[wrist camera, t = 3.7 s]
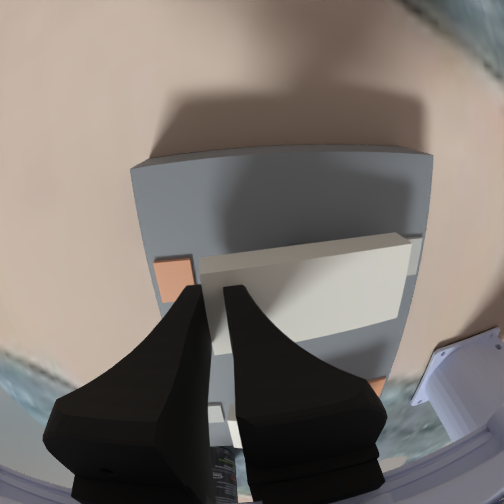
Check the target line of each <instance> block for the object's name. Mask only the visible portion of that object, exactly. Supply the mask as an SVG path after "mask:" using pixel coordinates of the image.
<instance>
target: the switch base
mask: <svg viewBox="0 0 504 504" xmlns="http://www.w3.org/2000/svg"><path fill="white" fill-rule="evenodd" d="M432 171H433V155H431V154H427V153H423V152H420V151H416V150H412V149H408V148H404V147H399V146H380V145H344V144H319V145H282V146H262V147H247V148H234V149H222V150H212V151H203V152H194V153H186V154H178V155H170V156H163V157H156V158H150V159H147V160H145V161H143V162H142V163H140V164H138V165H136V166H134V167H133V168H131V169H130V173H131V180H132V186H133V192H134V198H135V204H136V209H137V214H138V220H139V225H140V230H141V235H142V240H143V244H144V249H145V253H146V258H147V262H148V266H149V271H150V275H151V279H152V283H153V287H154V291H155V295H156V298H157V302H158V306H159V310H160V313H161V317H162V318H163V317H164V316H165V314H166V313H167V312H168V310H169V309H170V308H171V306H172V305H173V304H174V302H175V301H176V299H177V298H178V296H179V295H180V293H181V292H182V291H183V289H184V288H185V287H186V285H197V284H201V280H200V273H199V258H202V257H209V256H217V255H225V254H232V253H240V252H248V251H255V250H263V249H271V248H278V247H286V246H294V245H301V244H309V243H317V242H324V241H332V240H340V239H347V238H355V237H363V236H371V235H378V234H386V233H394V232H396V233H398V234H399V235H401V236H402V237H403V238H405V239H406V240H408V241H409V242H411V243H412V248H411V254H410V260H409V265H408V270H407V275H406V280H405V285H404V290H403V294H402V299H401V303H400V307H399V312H398V316H397V318H394V319H391V320H387V321H383V322H380V323H376V324H372V325H368V326H365V327H361V328H357V329H353V330H349V331H344V332H340V333H336V334H332V335H327V336H323V337H318V338H313V339H309V340H304V341H299V342H295V343H296V344H298V345H299V346H300V347H302V348H303V349H305V350H306V351H308V352H309V353H311V354H313V355H314V356H316V357H317V358H319V359H321V360H322V361H324V362H326V363H328V364H330V365H332V366H334V367H336V368H338V369H341V370H343V371H346V372H348V373H351V374H353V375H356V376H358V377H361V378H363V379H366V380H367V381H368V383H369V384H370V385H371V387H372V388H373V390H374V391H375V393H376V394H377V396H378V397H379V399H380V397H381V395H382V392H383V390H384V387H385V385H386V382H387V379H388V377H389V374H390V371H391V368H392V365H393V362H394V359H395V356H396V353H397V350H398V347H399V344H400V341H401V338H402V334H403V331H404V327H405V324H406V320H407V317H408V313H409V309H410V305H411V301H412V297H413V293H414V289H415V285H416V280H417V276H418V271H419V266H420V261H421V256H422V250H423V245H424V239H425V232H426V226H427V219H428V211H429V203H430V194H431V183H432ZM230 404H235V384H234V362H233V354H232V353H229V354H222V355H214V351H213V346H212V356H211V369H210V382H209V396H208V420H209V437H210V446H231V445H233V441H232V438H231V434H230V430H229V426H228V422H227V419H228V413H229V408H230Z"/></svg>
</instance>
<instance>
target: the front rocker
mask: <svg viewBox="0 0 504 504" xmlns="http://www.w3.org/2000/svg"><path fill="white" fill-rule="evenodd" d="M411 248H412V243H411V242H409V241H408V240H406V239H405V238H403V237H402V236H401V235H399V234H398V233H396V232H394V233H386V234H378V235H371V236H363V237H355V238H347V239H340V240H332V241H324V242H317V243H309V244H301V245H294V246H286V247H278V248H271V249H263V250H255V251H248V252H240V253H232V254H225V255H217V256H209V257H202V258H199V273H200V280H201V286H202V292H203V298H204V303H205V309H206V314H207V320H208V325H209V330H210V336H211V341H212V346H213V351H214V355H222V354H229V353H232V349H231V343H230V336H229V329H228V322H227V315H226V308H225V301H224V294H223V287H226V286H234V285H244V286H245V287H246V289H247V291H248V292H249V294H250V295H251V297H252V298H253V300H254V301H255V303H256V304H257V305H258V306H259V308H260V309H261V310H262V311H263V313H264V314H265V315H266V316H267V317H268V318H269V319H270V320H271V321H272V322H273V323H274V325H275V326H276V327H278V328H279V329H280V330H281V331H282V332H283V333H284V334H285V335H286V336H288V337H289V338H290V339H291V340H292V341H294V342H299V341H304V340H309V339H313V338H318V337H323V336H327V335H332V334H336V333H340V332H344V331H349V330H353V329H357V328H361V327H365V326H368V325H372V324H376V323H380V322H383V321H387V320H391V319H394V318H397V316H398V312H399V307H400V303H401V299H402V294H403V290H404V285H405V280H406V275H407V270H408V265H409V260H410V254H411Z"/></svg>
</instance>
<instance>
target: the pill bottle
mask: <svg viewBox="0 0 504 504" xmlns="http://www.w3.org/2000/svg"><path fill="white" fill-rule="evenodd" d="M210 450H211V461H212V471H213V481H214V489H215V496H216V504H232V503H238V496H237V481H236V465H235V458H234V455H233V454H232V453H231V452H229V451H227V450H225V449H222V448H219V447H214V446H210Z"/></svg>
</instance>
